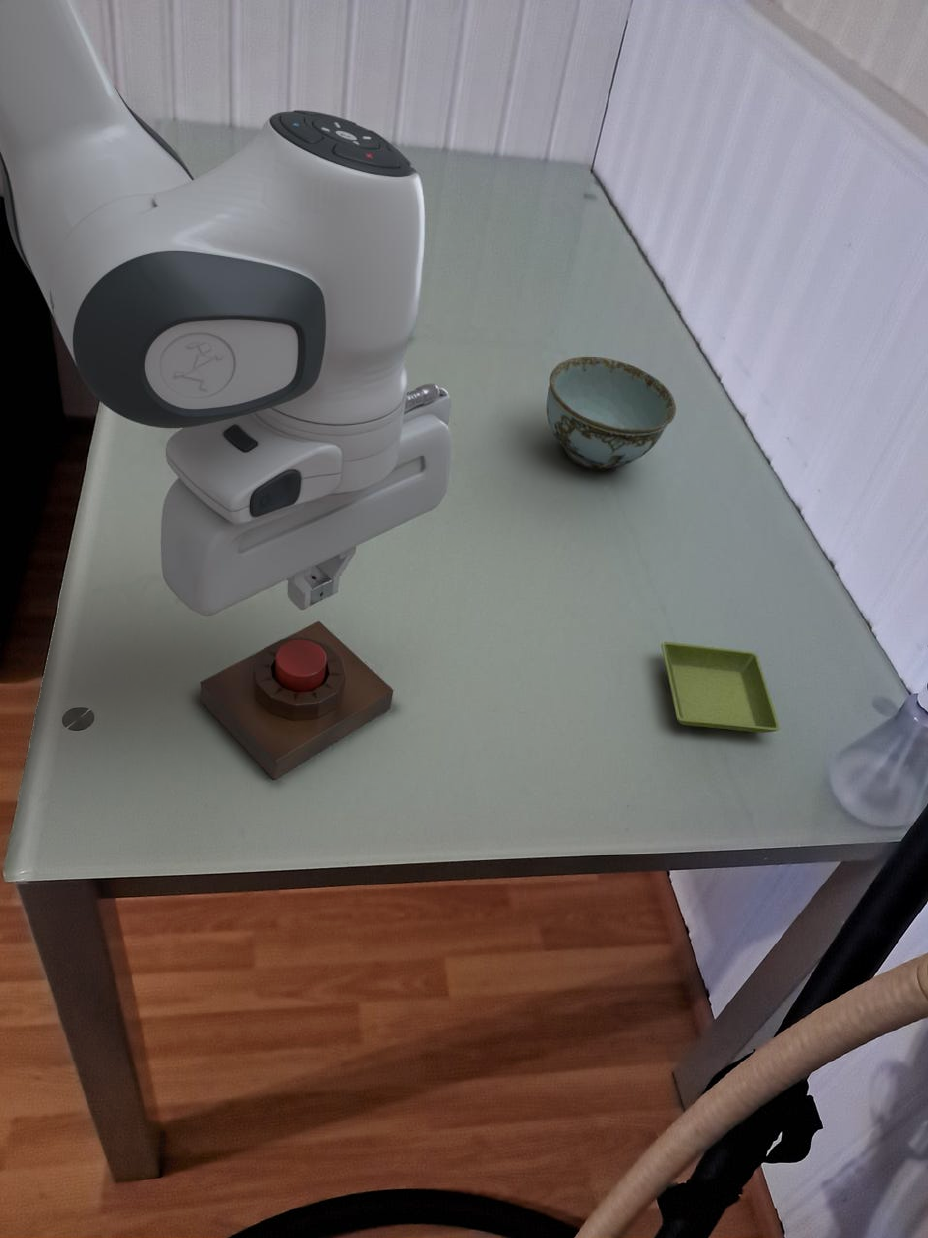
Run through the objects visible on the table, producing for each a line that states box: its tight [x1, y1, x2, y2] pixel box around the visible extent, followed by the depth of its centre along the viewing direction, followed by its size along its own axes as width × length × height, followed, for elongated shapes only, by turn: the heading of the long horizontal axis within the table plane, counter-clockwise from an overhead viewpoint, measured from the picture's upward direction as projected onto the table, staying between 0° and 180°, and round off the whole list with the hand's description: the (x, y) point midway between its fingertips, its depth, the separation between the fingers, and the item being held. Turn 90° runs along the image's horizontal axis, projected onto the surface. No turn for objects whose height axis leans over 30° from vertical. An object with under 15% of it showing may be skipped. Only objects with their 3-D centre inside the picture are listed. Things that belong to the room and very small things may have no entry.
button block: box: [199, 620, 394, 781], centre depth 71 cm, size 11×9×4 cm
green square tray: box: [661, 641, 780, 734], centre depth 80 cm, size 9×9×2 cm
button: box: [275, 640, 326, 692], centre depth 70 cm, size 4×4×2 cm
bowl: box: [546, 356, 677, 471], centre depth 101 cm, size 14×13×8 cm
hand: (312, 596), depth 65 cm, fingers closed
